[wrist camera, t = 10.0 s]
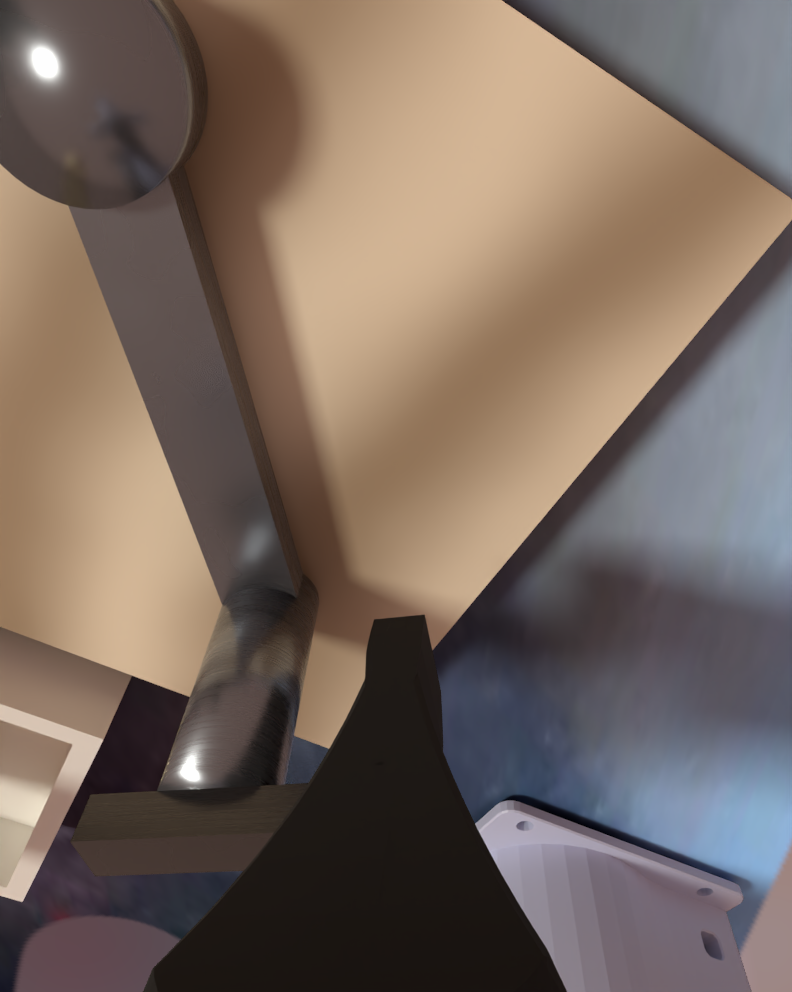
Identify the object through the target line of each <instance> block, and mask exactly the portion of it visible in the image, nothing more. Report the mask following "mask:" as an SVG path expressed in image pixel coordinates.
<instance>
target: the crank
mask: <svg viewBox="0 0 792 992" xmlns="http://www.w3.org/2000/svg"><path fill="white" fill-rule="evenodd" d="M207 109H208V87H207V76H206V71H205V67H204V62H203V58H202V55H201V52H200V49H199V46H198V43H197V41H196V39H195V36H194V34H193V32H192V29H191V28H190V26H189V24H188V22H187V21H186V19H185V17H184V15H183V14H182V12H181V11H180V10H179V8H178V7H177V5H176V4H175V3H174V1H173V0H0V164H1V165H2V166H3V167H4V168H5V169H6V170H7V171H8V172H10V173H11V174H12V175H13V176H14V177H15V178H16V179H18V180H19V181H21V182H22V183H23V184H25V185H26V186H27V187H29V188H31V189H32V190H34V191H36V192H37V193H39V194H41V195H43V196H45V197H47V198H49V199H51V200H54V201H56V202H59V203H62V204H65V205H68V207H69V209H70V212H71V214H72V217H73V219H74V222H75V225H76V227H77V230H78V232H79V235H80V238H81V240H82V243H83V245H84V248H85V251H86V253H87V256H88V258H89V261H90V264H91V266H92V269H93V271H94V274H95V277H96V279H97V282H98V284H99V287H100V289H101V292H102V295H103V297H104V300H105V302H106V305H107V308H108V310H109V313H110V315H111V318H112V321H113V323H114V326H115V328H116V331H117V334H118V336H119V339H120V341H121V344H122V347H123V349H124V352H125V354H126V357H127V359H128V362H129V365H130V367H131V370H132V372H133V375H134V378H135V380H136V383H137V385H138V388H139V391H140V393H141V396H142V398H143V401H144V404H145V406H146V409H147V411H148V414H149V417H150V419H151V422H152V424H153V427H154V429H155V432H156V435H157V437H158V440H159V442H160V445H161V448H162V450H163V453H164V455H165V458H166V461H167V463H168V466H169V468H170V471H171V474H172V476H173V479H174V481H175V484H176V487H177V489H178V492H179V494H180V497H181V499H182V502H183V505H184V507H185V510H186V512H187V515H188V518H189V520H190V523H191V525H192V528H193V531H194V533H195V536H196V538H197V541H198V544H199V546H200V549H201V551H202V554H203V557H204V559H205V562H206V564H207V567H208V569H209V572H210V575H211V577H212V580H213V582H214V585H215V588H216V590H217V593H218V595H219V598H220V601H221V603H222V607H221V610H220V613H219V615H218V618H217V621H216V624H215V627H214V630H213V633H212V635H211V638H210V641H209V644H208V647H207V650H206V653H205V655H204V658H203V661H202V664H201V667H200V670H199V673H198V675H197V678H196V681H195V684H194V687H193V690H192V693H191V695H190V698H189V701H188V704H187V707H186V710H185V713H184V715H183V718H182V721H181V724H180V727H179V730H178V733H177V735H176V738H175V741H174V744H173V747H172V750H171V753H170V755H169V758H168V761H167V764H166V767H165V770H164V773H163V775H162V778H161V781H160V784H159V787H158V790H157V791H150V792H131V793H112V794H93V795H90V798H89V800H88V802H87V805H86V807H85V809H84V811H83V814H82V816H81V818H80V821H79V823H78V825H77V828H76V830H75V832H74V835H73V837H72V839H71V843H72V845H73V846H74V847H75V849H76V850H77V852H78V853H79V854H80V856H81V857H82V859H83V860H84V861H85V863H86V864H87V866H88V867H89V868H90V870H91V871H92V872H93V874H94V875H95V876H115V875H142V874H169V873H195V872H222V871H244V870H245V869H246V868H247V866H248V865H249V864H250V863H251V862H252V860H253V859H254V858H255V857H256V856H257V854H258V853H259V852H260V851H261V849H262V848H263V847H264V845H265V844H266V843H267V841H268V840H269V839H270V838H271V836H272V835H273V833H274V832H275V831H276V829H277V828H278V827H279V825H280V824H281V822H282V821H283V820H284V818H285V817H286V816H287V814H288V813H289V811H290V810H291V809H292V807H293V806H294V804H295V803H296V801H297V800H298V798H299V797H300V795H301V794H302V792H303V791H304V789H305V788H306V786H307V785H308V783H303V784H285V780H286V775H287V769H288V764H289V759H290V754H291V748H292V743H293V738H294V733H295V728H296V722H297V717H298V712H299V707H300V701H301V696H302V691H303V686H304V681H305V675H306V670H307V665H308V660H309V654H310V649H311V644H312V639H313V634H314V628H315V623H316V618H317V613H318V607H319V594H318V591H317V589H316V587H315V585H314V584H313V582H312V581H311V580H310V579H309V578H308V577H307V576H306V575H305V574H303V571H302V567H301V564H300V560H299V557H298V554H297V550H296V547H295V543H294V540H293V536H292V533H291V530H290V526H289V523H288V519H287V516H286V512H285V509H284V506H283V502H282V499H281V495H280V492H279V489H278V485H277V482H276V478H275V475H274V471H273V468H272V465H271V461H270V458H269V454H268V451H267V447H266V444H265V441H264V437H263V434H262V430H261V427H260V423H259V420H258V417H257V413H256V410H255V406H254V403H253V399H252V396H251V393H250V389H249V386H248V382H247V379H246V376H245V372H244V369H243V365H242V362H241V358H240V355H239V352H238V348H237V345H236V341H235V338H234V334H233V331H232V328H231V324H230V321H229V317H228V314H227V310H226V307H225V304H224V300H223V297H222V293H221V290H220V286H219V283H218V280H217V276H216V273H215V269H214V266H213V263H212V259H211V256H210V252H209V249H208V245H207V242H206V239H205V235H204V232H203V228H202V225H201V221H200V218H199V215H198V211H197V208H196V204H195V201H194V197H193V194H192V191H191V187H190V184H189V180H188V177H187V173H186V170H185V167H184V165H185V164H186V163H187V161H188V160H189V159H190V158H191V156H192V154H193V153H194V151H195V150H196V148H197V146H198V143H199V141H200V139H201V136H202V133H203V130H204V126H205V123H206V116H207Z"/></svg>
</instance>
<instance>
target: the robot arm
mask: <svg viewBox="0 0 792 992" xmlns="http://www.w3.org/2000/svg"><path fill="white" fill-rule="evenodd" d="M743 898H744V897H743V894H742V891H741V889H740V886H739V885H737V884H735V883H734V882H731V881H728V880H726V879H723V878H720V877H718V876H715V875H712V874H710V873H707V872H704V871H702V870H699V869H696V868H694V867H691V866H688V865H686V864H683V863H680V862H678V861H675V860H672V859H670V858H667V857H664V856H662V855H659V854H657V853H654V852H651V851H649V850H646V849H643V848H641V847H638V846H635V845H633V844H630V843H627V842H625V841H622V840H619V839H617V838H614V837H611V836H609V835H606V834H603V833H601V832H598V831H595V830H593V829H590V828H587V827H585V826H582V825H580V824H577V823H574V822H572V821H569V820H566V819H564V818H561V817H558V816H556V815H553V814H550V813H548V812H545V811H542V810H540V809H537V808H534V807H532V806H529V805H526V804H524V803H521V802H518V801H514V800H506V801H502V802H500V803H498V804H497V805H496V806H495V807H494V808H492V809H491V810H490V811H489V812H488V813H487V814H486V815H485V816H484V817H482V818H481V819H480V820H479V821H478V822H477V823H476V824H475V823H474V821H473V819H472V817H471V815H470V813H469V811H468V808H467V806H466V804H465V802H464V800H463V798H462V796H461V793H460V791H459V789H458V787H457V784H456V782H455V780H454V778H453V775H452V773H451V771H450V768H449V766H448V763H447V761H446V758H445V756H444V753H443V727H442V704H441V690H440V685H439V680H438V675H437V670H436V666H435V661H434V656H433V651H432V647H431V642H430V637H429V632H428V628H427V623H426V618H425V615H414V616H404V617H394V618H383V619H374V621H373V625H372V629H371V632H370V636H369V641H368V645H367V650H366V667H365V680H364V682H363V684H362V686H361V688H360V691H359V693H358V695H357V697H356V699H355V701H354V703H353V705H352V707H351V709H350V711H349V713H348V715H347V717H346V719H345V721H344V723H343V725H342V727H341V728H340V730H339V732H338V734H337V736H336V738H335V739H334V741H333V743H332V745H331V747H330V748H329V750H328V752H327V754H326V756H325V757H324V759H323V761H322V762H321V764H320V766H319V767H318V769H317V771H316V772H315V774H314V775H313V777H312V779H311V780H310V782H309V783H308V785H307V786H306V788H305V789H304V791H303V792H302V794H301V795H300V797H299V798H298V800H297V801H296V803H295V804H294V806H293V807H292V809H291V810H290V811H289V813H288V814H287V816H286V817H285V818H284V820H283V821H282V822H281V824H280V825H279V827H278V828H277V829H276V831H275V832H274V833H273V835H272V836H271V838H270V839H269V840H268V841H267V843H266V844H265V845H264V847H263V848H262V849H261V851H260V852H259V853H258V854H257V856H256V857H255V858H254V859H253V860H252V862H251V863H250V864H249V865H248V866H247V868H246V869H245V870H244V871H243V872H242V873H241V875H240V876H239V877H238V878H237V879H236V880H235V882H234V883H233V884H232V885H231V886H230V887H229V889H228V890H227V891H226V892H225V893H224V895H223V896H222V897H221V898H220V899H219V900H218V902H217V903H216V904H215V905H214V906H213V907H212V908H211V909H210V910H209V911H208V913H207V914H206V915H205V916H204V917H203V918H202V919H201V920H200V921H199V922H198V923H197V924H196V925H195V926H194V927H193V928H192V929H191V930H190V931H189V932H188V933H187V934H186V935H185V936H184V937H183V938H182V939H181V940H180V941H179V942H178V943H177V945H176V946H175V947H174V948H173V949H172V950H171V951H170V952H169V953H168V954H167V955H166V956H165V957H164V958H163V959H162V960H161V961H160V962H159V963H158V964H157V965H156V966H155V967H154V968H153V970H152V972H151V974H150V977H149V979H148V981H147V984H146V986H145V989H144V991H143V992H751V989H750V986H749V982H748V980H747V976H746V973H745V970H744V966H743V964H742V960H741V957H740V954H739V951H738V948H737V944H736V941H735V938H734V935H733V932H732V929H731V925H730V922H729V919H728V916H727V913H726V912H727V911H729V910H730V909H732V908H734V907H736V906H737V905H739V904H740V903H741V902H742V901H743Z"/></svg>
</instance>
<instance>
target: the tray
mask: <svg viewBox="0 0 792 992" xmlns="http://www.w3.org/2000/svg"><path fill="white" fill-rule="evenodd" d="M131 677H132V675H129V674H126V673H124V672H121V671H118V670H116V669H113V668H110V667H107V666H105V665H102V664H99V663H97V662H94V661H91V660H89V659H86V658H83V657H80V656H78V655H75V654H72V653H70V652H67V651H64V650H62V649H59V648H56V647H53V646H51V645H48V644H45V643H43V642H40V641H37V640H34V639H32V638H29V637H26V636H24V635H21V634H18V633H16V632H13V631H10V630H7V629H5V628H2V627H0V896H3V897H7V898H10V899H14V900H17V901H21V902H23V900H24V898H25V896H26V894H27V892H28V890H29V888H30V886H31V884H32V882H33V880H34V878H35V876H36V874H37V872H38V870H39V868H40V866H41V864H42V862H43V860H44V858H45V856H46V854H47V852H48V850H49V848H50V846H51V844H52V842H53V840H54V838H55V836H56V834H57V832H58V830H59V828H60V826H61V824H62V822H63V820H64V818H65V816H66V814H67V812H68V810H69V808H70V806H71V804H72V802H73V800H74V798H75V796H76V794H77V792H78V790H79V788H80V786H81V784H82V782H83V780H84V778H85V776H86V774H87V772H88V770H89V768H90V766H91V764H92V762H93V760H94V758H95V756H96V754H97V752H98V750H99V748H100V746H101V744H102V742H103V740H104V738H105V735H106V733H107V731H108V729H109V726H110V724H111V722H112V720H113V717H114V715H115V713H116V711H117V708H118V706H119V704H120V702H121V699H122V697H123V695H124V693H125V690H126V688H127V686H128V684H129V681H130V679H131Z"/></svg>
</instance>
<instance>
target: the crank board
mask: <svg viewBox="0 0 792 992" xmlns="http://www.w3.org/2000/svg"><path fill="white" fill-rule="evenodd" d="M173 1H174V3H175V4H176V5H177V7H178V8H179V10H180V11H181V12H182V14H183V15H184V17H185V19H186V21H187V22H188V24H189V26H190V28H191V29H192V32H193V34H194V36H195V39H196V41H197V43H198V46H199V49H200V52H201V55H202V58H203V62H204V67H205V71H206V76H207V87H208V109H207V116H206V123H205V126H204V130H203V133H202V136H201V139H200V141H199V143H198V146H197V148H196V150H195V151H194V153H193V154H192V156H191V158H190V159H189V160H188V161H187V163H186V164H185V165H184V167H185V170H186V173H187V177H188V180H189V184H190V187H191V191H192V194H193V197H194V201H195V204H196V208H197V211H198V215H199V218H200V221H201V225H202V228H203V232H204V235H205V239H206V242H207V245H208V249H209V252H210V256H211V259H212V263H213V266H214V269H215V273H216V276H217V280H218V283H219V286H220V290H221V293H222V297H223V300H224V304H225V307H226V310H227V314H228V317H229V321H230V324H231V328H232V331H233V334H234V338H235V341H236V345H237V348H238V352H239V355H240V358H241V362H242V365H243V369H244V372H245V376H246V379H247V382H248V386H249V389H250V393H251V396H252V399H253V403H254V406H255V410H256V413H257V417H258V420H259V423H260V427H261V430H262V434H263V437H264V441H265V444H266V447H267V451H268V454H269V458H270V461H271V465H272V468H273V471H274V475H275V478H276V482H277V485H278V489H279V492H280V495H281V499H282V502H283V506H284V509H285V512H286V516H287V519H288V523H289V526H290V530H291V533H292V536H293V540H294V543H295V547H296V550H297V554H298V557H299V560H300V564H301V567H302V571H303V574H305V575H306V576H307V577H308V578H309V579H310V580H311V581H312V582H313V584H314V585H315V587H316V589H317V591H318V594H319V607H318V613H317V618H316V623H315V628H314V634H313V639H312V644H311V649H310V654H309V660H308V665H307V670H306V675H305V681H304V686H303V691H302V696H301V701H300V707H299V712H298V717H297V722H296V728H295V733H294V736H297V737H299V738H302V739H305V740H307V741H310V742H313V743H316V744H318V745H321V746H324V747H326V748H330V747H331V745H332V743H333V741H334V739H335V738H336V736H337V734H338V732H339V730H340V728H341V727H342V725H343V723H344V721H345V719H346V717H347V715H348V713H349V711H350V709H351V707H352V705H353V703H354V701H355V699H356V697H357V695H358V693H359V691H360V688H361V686H362V684H363V682H364V680H365V667H366V650H367V645H368V641H369V636H370V632H371V629H372V625H373V621H374V619H383V618H394V617H404V616H414V615H425V618H426V623H427V628H428V632H429V637H430V642H431V647H432V650H433V649H434V648H435V647H436V646H437V644H438V643H439V642H440V641H441V640H442V638H443V637H444V636H445V635H446V634H447V632H448V631H449V630H450V629H451V628H452V626H453V625H454V624H455V623H456V622H457V620H458V619H459V618H460V617H461V616H462V614H463V613H464V612H465V611H466V610H467V608H468V607H469V606H470V605H471V604H472V602H473V601H474V600H475V599H476V598H477V596H478V595H479V594H480V593H481V592H482V590H483V589H484V588H485V587H486V586H487V584H488V583H489V582H490V581H491V580H492V578H493V577H494V576H495V575H496V574H497V572H498V571H499V570H500V569H501V568H502V566H503V565H504V564H505V563H506V562H507V560H508V559H509V558H510V557H511V556H512V554H513V553H514V552H515V551H516V550H517V548H518V547H519V546H520V545H521V544H522V543H523V541H524V540H525V539H526V538H527V537H528V535H529V534H530V533H531V532H532V531H533V529H534V528H535V527H536V526H537V525H538V523H539V522H540V521H541V520H542V519H543V517H544V516H545V515H546V514H547V513H548V511H549V510H550V509H551V508H552V507H553V505H554V504H555V503H556V502H557V501H558V499H559V498H560V497H561V496H562V495H563V493H564V492H565V491H566V490H567V489H568V487H569V486H570V485H571V484H572V483H573V481H574V480H575V479H576V478H577V477H578V475H579V474H580V473H581V472H582V471H583V469H584V468H585V467H586V466H587V465H588V463H589V462H590V461H591V460H592V459H593V457H594V456H595V455H596V454H597V453H598V451H599V450H600V449H601V448H602V447H603V445H604V444H605V443H606V442H607V441H608V439H609V438H610V437H611V436H612V435H613V434H614V432H615V431H616V430H617V429H618V428H619V426H620V425H621V424H622V423H623V422H624V420H625V419H626V418H627V417H628V416H629V414H630V413H631V412H632V411H633V410H634V408H635V407H636V406H637V405H638V404H639V402H640V401H641V400H642V399H643V398H644V396H645V395H646V394H647V393H648V392H649V390H650V389H651V388H652V387H653V386H654V384H655V383H656V382H657V381H658V380H659V378H660V377H661V376H662V375H663V374H664V372H665V371H666V370H667V369H668V368H669V366H670V365H671V364H672V363H673V362H674V360H675V359H676V358H677V357H678V356H679V354H680V353H681V352H682V351H683V350H684V348H685V347H686V346H687V345H688V344H689V342H690V341H691V340H692V339H693V338H694V336H695V335H696V334H697V333H698V332H699V330H700V329H701V328H702V327H703V326H704V325H705V323H706V322H707V321H708V320H709V319H710V317H711V316H712V315H713V314H714V313H715V311H716V310H717V309H718V308H719V307H720V305H721V304H722V303H723V302H724V301H725V299H726V298H727V297H728V296H729V295H730V293H731V292H732V291H733V290H734V289H735V287H736V286H737V285H738V284H739V283H740V281H741V280H742V279H743V278H744V277H745V275H746V274H747V273H748V272H749V271H750V269H751V268H752V267H753V266H754V265H755V263H756V262H757V261H758V260H759V259H760V257H761V256H762V255H763V254H764V253H765V251H766V250H767V249H768V248H769V247H770V245H771V244H772V243H773V242H774V241H775V239H776V238H777V237H778V236H779V235H780V233H781V232H782V231H783V230H784V229H785V227H786V226H787V225H788V224H789V223H790V221H791V220H792V199H791V198H790V197H788V196H787V195H785V194H784V193H782V192H781V191H779V190H778V189H776V188H775V187H773V186H772V185H771V184H769V183H768V182H766V181H765V180H763V179H762V178H760V177H759V176H757V175H756V174H754V173H753V172H752V171H750V170H749V169H747V168H746V167H744V166H743V165H741V164H740V163H738V162H737V161H736V160H734V159H733V158H731V157H730V156H728V155H727V154H725V153H724V152H722V151H721V150H719V149H718V148H717V147H715V146H714V145H712V144H711V143H709V142H708V141H706V140H705V139H703V138H702V137H700V136H699V135H698V134H696V133H695V132H693V131H692V130H690V129H689V128H687V127H686V126H684V125H683V124H681V123H680V122H679V121H677V120H676V119H674V118H673V117H671V116H670V115H668V114H667V113H665V112H664V111H662V110H661V109H660V108H658V107H657V106H655V105H654V104H652V103H651V102H649V101H648V100H646V99H645V98H644V97H642V96H641V95H639V94H638V93H636V92H635V91H633V90H632V89H630V88H629V87H627V86H626V85H625V84H623V83H622V82H620V81H619V80H617V79H616V78H614V77H613V76H611V75H610V74H608V73H607V72H606V71H604V70H603V69H601V68H600V67H598V66H597V65H595V64H594V63H592V62H591V61H589V60H588V59H587V58H585V57H584V56H582V55H581V54H579V53H578V52H576V51H575V50H573V49H572V48H570V47H569V46H568V45H566V44H565V43H563V42H562V41H560V40H559V39H557V38H556V37H554V36H553V35H552V34H550V33H549V32H547V31H546V30H544V29H543V28H541V27H540V26H538V25H537V24H535V23H534V22H533V21H531V20H530V19H528V18H527V17H525V16H524V15H522V14H521V13H519V12H518V11H516V10H515V9H514V8H512V7H511V6H509V5H508V4H506V3H505V2H503V1H502V0H173ZM221 607H222V603H221V601H220V598H219V595H218V593H217V590H216V588H215V585H214V582H213V580H212V577H211V575H210V572H209V569H208V567H207V564H206V562H205V559H204V557H203V554H202V551H201V549H200V546H199V544H198V541H197V538H196V536H195V533H194V531H193V528H192V525H191V523H190V520H189V518H188V515H187V512H186V510H185V507H184V505H183V502H182V499H181V497H180V494H179V492H178V489H177V487H176V484H175V481H174V479H173V476H172V474H171V471H170V468H169V466H168V463H167V461H166V458H165V455H164V453H163V450H162V448H161V445H160V442H159V440H158V437H157V435H156V432H155V429H154V427H153V424H152V422H151V419H150V417H149V414H148V411H147V409H146V406H145V404H144V401H143V398H142V396H141V393H140V391H139V388H138V385H137V383H136V380H135V378H134V375H133V372H132V370H131V367H130V365H129V362H128V359H127V357H126V354H125V352H124V349H123V347H122V344H121V341H120V339H119V336H118V334H117V331H116V328H115V326H114V323H113V321H112V318H111V315H110V313H109V310H108V308H107V305H106V302H105V300H104V297H103V295H102V292H101V289H100V287H99V284H98V282H97V279H96V277H95V274H94V271H93V269H92V266H91V264H90V261H89V258H88V256H87V253H86V251H85V248H84V245H83V243H82V240H81V238H80V235H79V232H78V230H77V227H76V225H75V222H74V219H73V217H72V214H71V212H70V209H69V207H68V205H65V204H62V203H59V202H56V201H54V200H51V199H49V198H47V197H45V196H43V195H41V194H39V193H37V192H36V191H34V190H32V189H31V188H29V187H27V186H26V185H25V184H23V183H22V182H21V181H19V180H18V179H16V178H15V177H14V176H13V175H12V174H11V173H10V172H8V171H7V170H6V169H5V168H4V167H3V166H2V165H1V164H0V627H2V628H5V629H7V630H10V631H13V632H16V633H18V634H21V635H24V636H26V637H29V638H32V639H34V640H37V641H40V642H43V643H45V644H48V645H51V646H53V647H56V648H59V649H62V650H64V651H67V652H70V653H72V654H75V655H78V656H80V657H83V658H86V659H89V660H91V661H94V662H97V663H99V664H102V665H105V666H107V667H110V668H113V669H116V670H118V671H121V672H124V673H126V674H129V675H132V676H134V677H137V678H140V679H143V680H145V681H148V682H151V683H153V684H156V685H159V686H162V687H164V688H167V689H170V690H172V691H175V692H178V693H180V694H183V695H186V696H189V697H190V695H191V693H192V690H193V687H194V684H195V681H196V678H197V675H198V673H199V670H200V667H201V664H202V661H203V658H204V655H205V653H206V650H207V647H208V644H209V641H210V638H211V635H212V633H213V630H214V627H215V624H216V621H217V618H218V615H219V613H220V610H221Z"/></svg>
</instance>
